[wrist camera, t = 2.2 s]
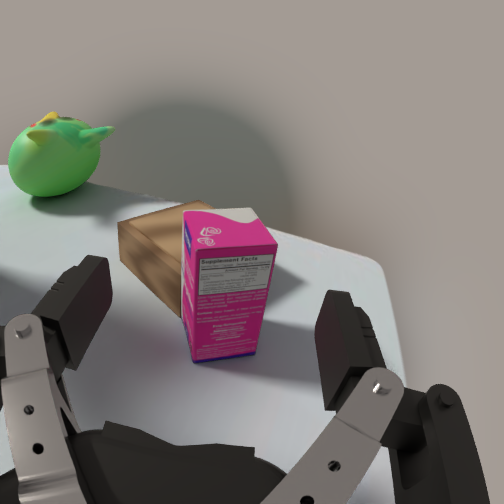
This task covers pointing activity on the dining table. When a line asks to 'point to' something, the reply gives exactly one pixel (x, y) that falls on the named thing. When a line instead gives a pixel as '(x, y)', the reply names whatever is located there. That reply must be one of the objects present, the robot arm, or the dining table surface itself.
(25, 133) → the toy bird
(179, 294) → the walnut plinth
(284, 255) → the dining table surface
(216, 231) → the supplement box
